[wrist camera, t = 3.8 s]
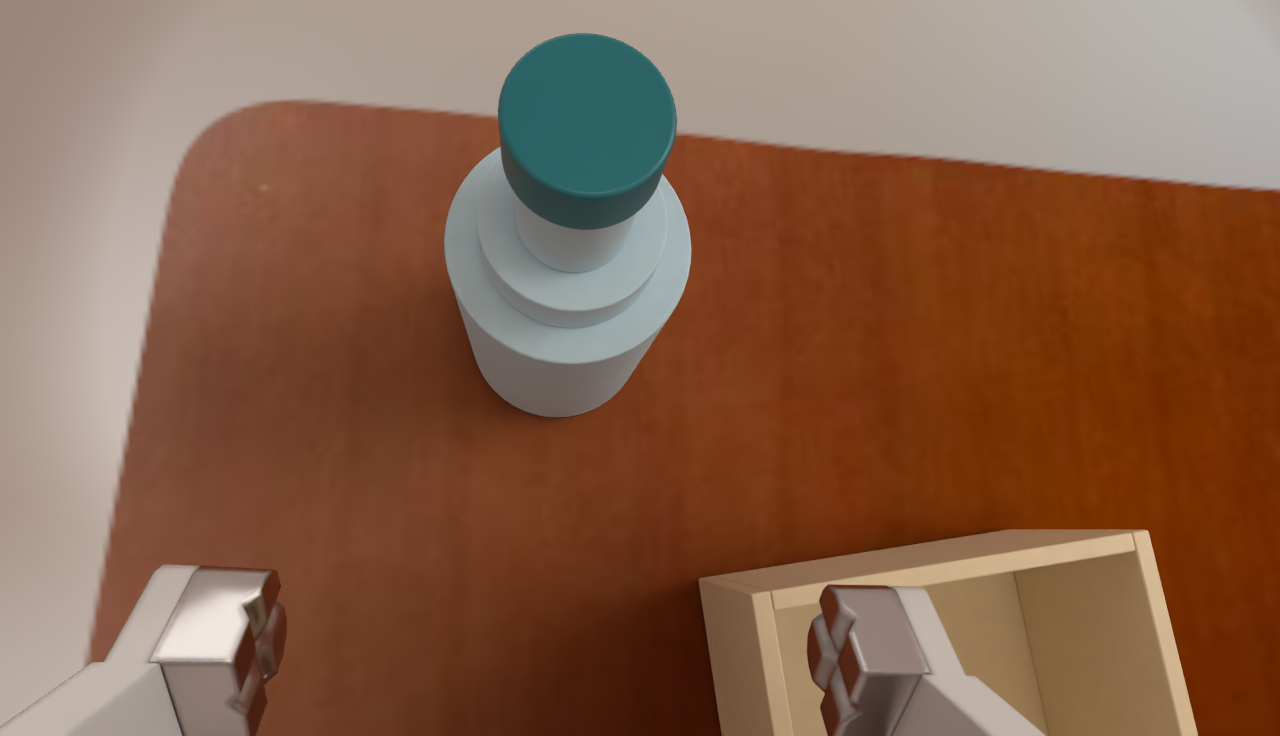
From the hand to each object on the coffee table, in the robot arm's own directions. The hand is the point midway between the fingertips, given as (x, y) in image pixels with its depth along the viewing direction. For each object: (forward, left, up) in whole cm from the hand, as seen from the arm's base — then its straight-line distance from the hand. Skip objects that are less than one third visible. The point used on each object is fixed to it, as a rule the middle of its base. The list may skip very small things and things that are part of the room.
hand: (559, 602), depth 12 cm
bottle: (+1, +7, -14) cm, 16 cm away
